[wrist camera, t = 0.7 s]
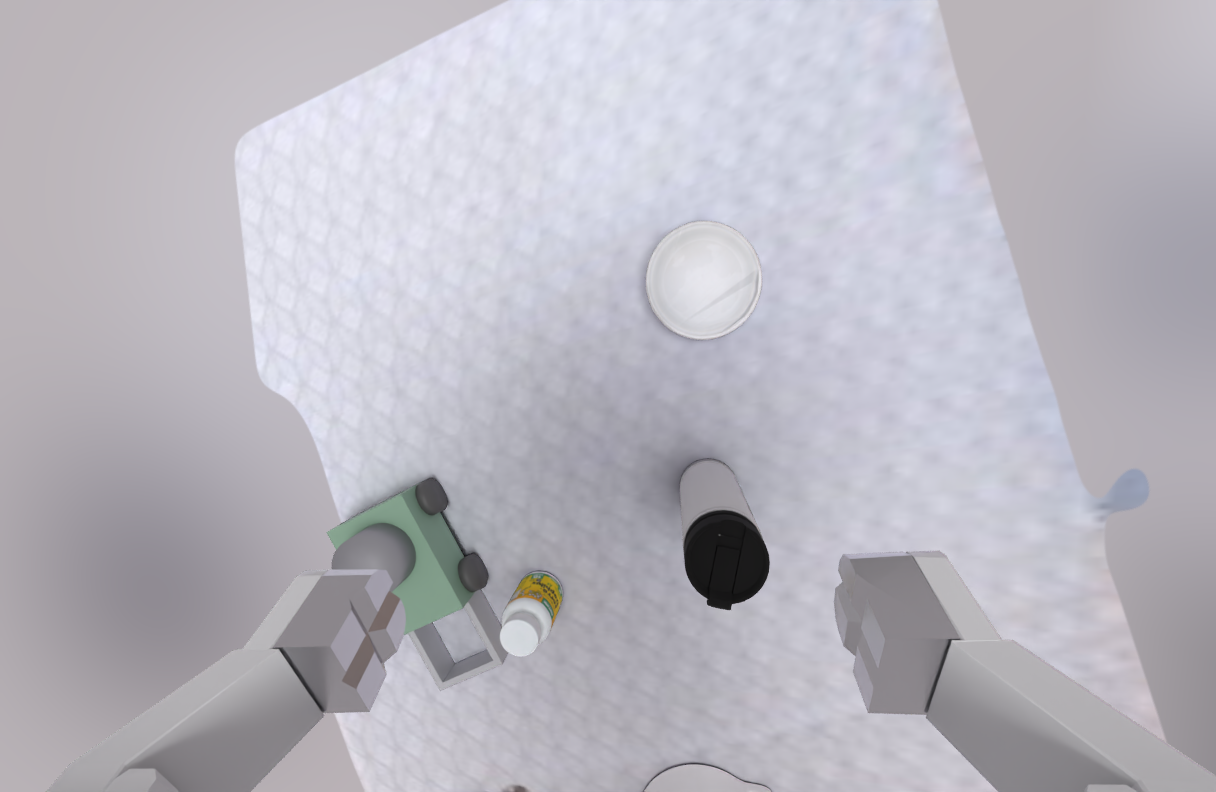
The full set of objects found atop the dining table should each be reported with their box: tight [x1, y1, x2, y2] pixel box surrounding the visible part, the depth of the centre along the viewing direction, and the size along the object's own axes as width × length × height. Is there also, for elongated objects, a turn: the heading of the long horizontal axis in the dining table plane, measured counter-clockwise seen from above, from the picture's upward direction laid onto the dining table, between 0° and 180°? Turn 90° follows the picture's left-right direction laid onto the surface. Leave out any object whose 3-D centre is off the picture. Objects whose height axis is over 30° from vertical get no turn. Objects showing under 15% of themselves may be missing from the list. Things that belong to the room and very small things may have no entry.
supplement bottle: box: [500, 571, 563, 657], centre depth 56 cm, size 5×5×10 cm
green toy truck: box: [327, 479, 508, 691], centre depth 58 cm, size 23×12×10 cm, turn 28°
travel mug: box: [680, 459, 770, 610], centre depth 47 cm, size 6×7×20 cm
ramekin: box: [646, 221, 762, 340], centre depth 52 cm, size 11×11×5 cm
